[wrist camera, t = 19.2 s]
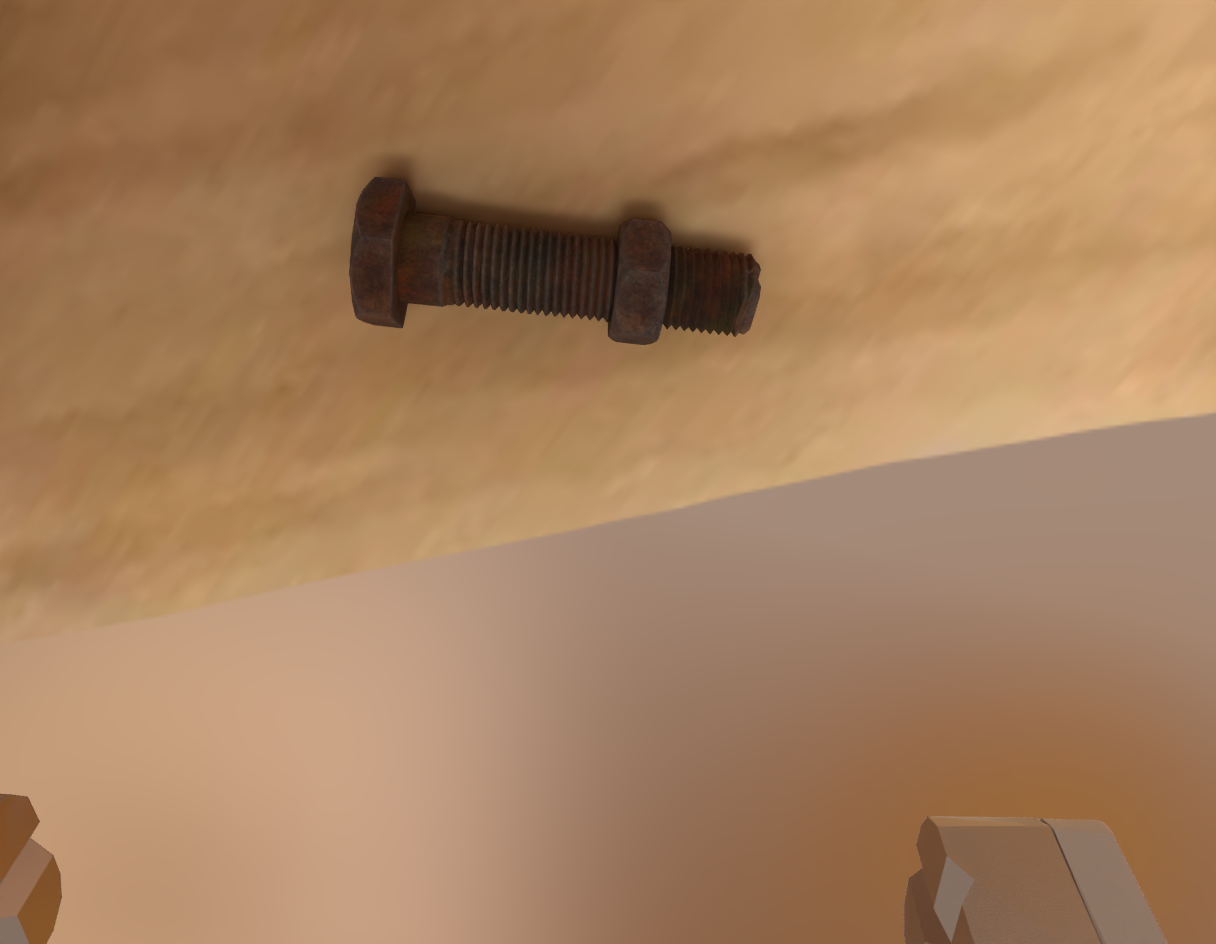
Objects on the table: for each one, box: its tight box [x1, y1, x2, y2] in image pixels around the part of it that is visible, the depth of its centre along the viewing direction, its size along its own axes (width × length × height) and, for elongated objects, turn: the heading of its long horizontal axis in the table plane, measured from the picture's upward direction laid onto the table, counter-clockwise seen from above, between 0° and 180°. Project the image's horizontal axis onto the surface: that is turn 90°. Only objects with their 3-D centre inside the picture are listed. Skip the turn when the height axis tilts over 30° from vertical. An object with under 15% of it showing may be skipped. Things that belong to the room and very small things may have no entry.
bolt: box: [349, 177, 761, 345], centre depth 39 cm, size 6×5×15 cm
